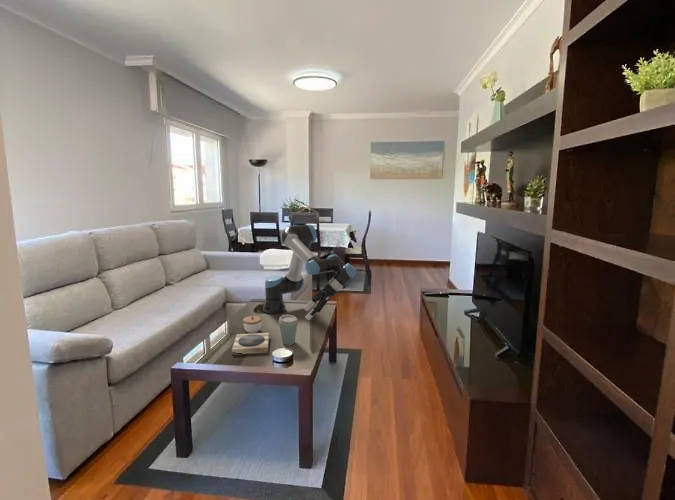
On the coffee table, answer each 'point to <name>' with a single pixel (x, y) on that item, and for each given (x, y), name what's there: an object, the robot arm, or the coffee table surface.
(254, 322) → the lidded jar
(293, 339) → the disposable coffee cup
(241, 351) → the birch riser
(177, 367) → the coffee table surface
